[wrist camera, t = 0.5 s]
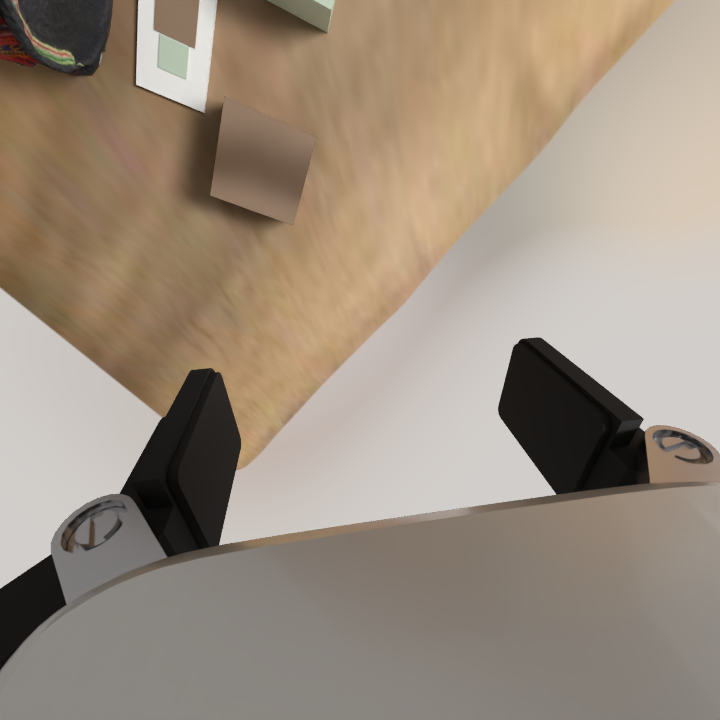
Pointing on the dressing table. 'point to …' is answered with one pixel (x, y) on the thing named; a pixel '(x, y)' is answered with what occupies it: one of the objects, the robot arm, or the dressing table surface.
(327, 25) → the sage cube
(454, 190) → the dressing table surface
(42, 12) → the figurine
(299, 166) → the walnut base
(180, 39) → the tile
